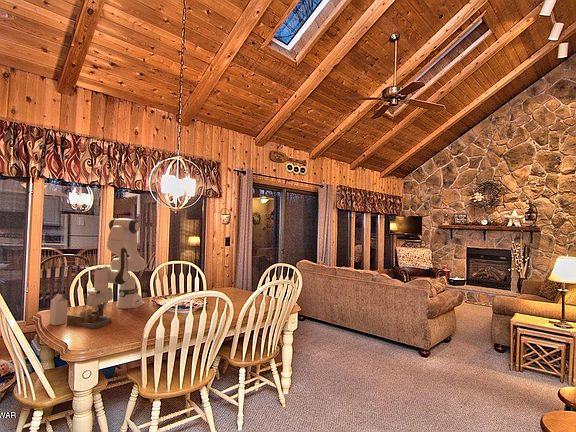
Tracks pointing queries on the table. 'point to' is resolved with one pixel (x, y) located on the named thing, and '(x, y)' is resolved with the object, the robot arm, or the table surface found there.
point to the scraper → (101, 310)
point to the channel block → (82, 319)
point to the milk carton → (58, 310)
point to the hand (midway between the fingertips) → (100, 309)
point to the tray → (97, 323)
